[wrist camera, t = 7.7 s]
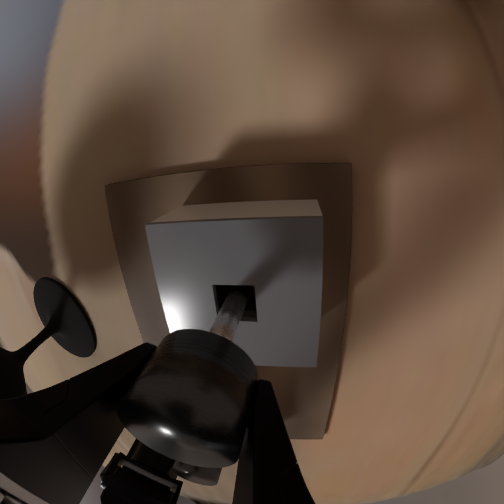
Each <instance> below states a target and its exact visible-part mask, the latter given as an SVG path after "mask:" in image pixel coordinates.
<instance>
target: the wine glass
mask: <svg viewBox="0 0 504 504" xmlns="http://www.w3.org/2000/svg"><path fill="white" fill-rule="evenodd" d="M34 302H35V306H36V309H37V312H38V314H39V317H40V319H41V321H42V323H43V324H44V326H45V328H44V329H43V330H42V331H41V332H40V333H39V334H38V335H37V336H36V337H35V338H33V339H32V340H31V341H30V342H28V343H27V344H26V345H25V346H23V347H22V348H20V349H19V350H17V351H14V352H10V351H7V350H5V349H3V348H1V347H0V400H6V399H12V398H16V397H19V396H23V395H26V394H27V390H26V384H25V378H24V373H23V366H24V363H25V361H26V360H27V358H28V357H29V356H30V355H31V354H32V353H33V352H34V350H35V349H36V348H37V347H38V346H39V345H40V344H42V343H43V342H44V341H45V340H46V339H48V338H49V337H50V336H52V337H53V338H54V339H55V341H56V342H57V343H58V344H59V345H61V346H62V347H63V348H64V349H65V350H67V351H68V352H70V353H71V354H74V355H76V356H79V357H89V356H91V355H92V354H93V352H94V351H95V349H96V338H95V333H94V330H93V327H92V325H91V323H90V320H89V318H88V317H87V315H86V313H85V311H84V310H83V308H82V307H81V305H80V304H79V302H78V301H77V300H76V298H75V297H74V296H73V295H72V294H71V293H70V292H69V291H68V289H66V288H65V287H64V286H63V285H62V284H60V283H59V282H58V281H56V280H54V279H52V278H48V277H44V278H41V279H39V280H38V281H37V282H36V284H35V286H34Z"/></svg>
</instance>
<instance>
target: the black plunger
mask: <svg viewBox="0 0 504 504" xmlns="http://www.w3.org/2000/svg"><path fill="white" fill-rule="evenodd" d="M246 304H247V297H246V295H245V294H244V293H242V292H241V291H237V290H235V291H231V292H230V293H229V294H228V295H227V297H226V299H225V301H224V303H223V305H222V307H221V309H220V311H219V313H218V315H217V317H216V319H215V321H214V323H213V325H212V327H211V329H210V331H204V330H199V329H181V330H177V331H174V332H171V333H170V334H168V335H166V336H165V337H164V338H163V340H162V341H161V342H160V344H159V345H158V346H157V348H156V349H155V351H154V352H153V354H152V355H151V357H150V358H149V359H148V361H147V362H146V364H145V365H144V367H143V368H142V369H141V371H140V372H139V374H138V375H137V377H136V378H135V380H134V381H133V383H132V384H131V386H130V387H129V388H128V390H127V391H126V393H125V394H124V396H123V397H122V399H121V400H120V402H119V403H118V405H117V415H118V417H119V419H120V421H121V422H122V424H123V425H124V426H125V428H126V429H127V430H128V431H129V432H130V433H131V434H132V435H133V436H134V437H136V438H137V439H138V440H139V441H141V442H142V443H143V444H145V445H146V446H148V447H149V448H151V449H153V450H155V451H156V452H158V453H160V454H162V455H164V456H166V457H169V458H171V459H174V460H176V461H179V462H182V463H186V464H189V465H194V466H199V467H207V468H221V467H227V466H230V465H232V464H234V463H236V462H237V461H238V459H239V456H240V452H241V448H242V444H243V440H244V436H245V432H246V428H247V424H248V420H249V416H250V412H251V407H252V403H253V399H254V395H255V390H256V386H257V382H258V373H257V369H256V366H255V364H254V363H253V361H252V359H251V358H250V357H249V355H248V354H247V353H246V352H245V351H244V350H243V349H241V348H240V347H239V346H238V345H236V344H235V343H233V342H232V341H233V339H234V336H235V333H236V331H237V328H238V325H239V323H240V320H241V317H242V315H243V312H244V309H245V307H246Z"/></svg>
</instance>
